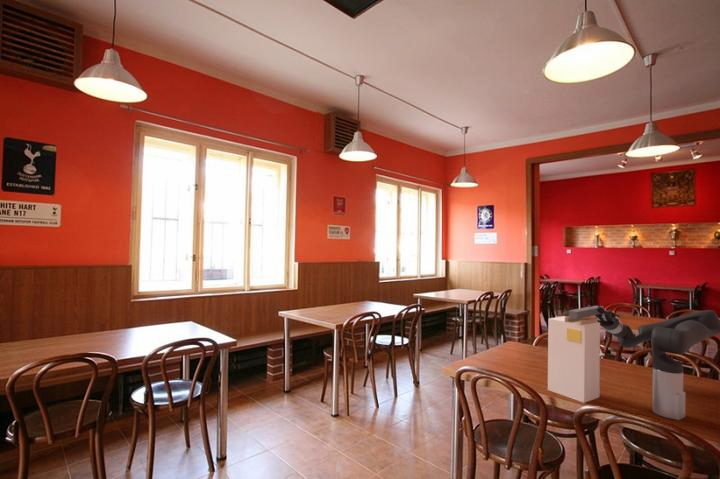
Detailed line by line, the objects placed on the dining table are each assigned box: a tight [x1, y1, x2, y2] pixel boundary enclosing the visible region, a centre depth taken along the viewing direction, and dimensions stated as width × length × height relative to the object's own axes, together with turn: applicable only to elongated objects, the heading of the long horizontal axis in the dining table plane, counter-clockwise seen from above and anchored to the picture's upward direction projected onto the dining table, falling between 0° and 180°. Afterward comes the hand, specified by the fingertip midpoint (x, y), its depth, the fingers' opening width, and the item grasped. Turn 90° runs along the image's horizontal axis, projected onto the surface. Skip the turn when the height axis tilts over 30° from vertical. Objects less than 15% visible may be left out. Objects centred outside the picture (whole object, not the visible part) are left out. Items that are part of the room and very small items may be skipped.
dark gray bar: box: [568, 305, 605, 319], centre depth 166 cm, size 4×22×3 cm, turn 121°
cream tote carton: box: [547, 315, 601, 404], centre depth 167 cm, size 16×12×34 cm
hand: (593, 307), depth 169 cm, fingers closed on dark gray bar, 3 cm apart
